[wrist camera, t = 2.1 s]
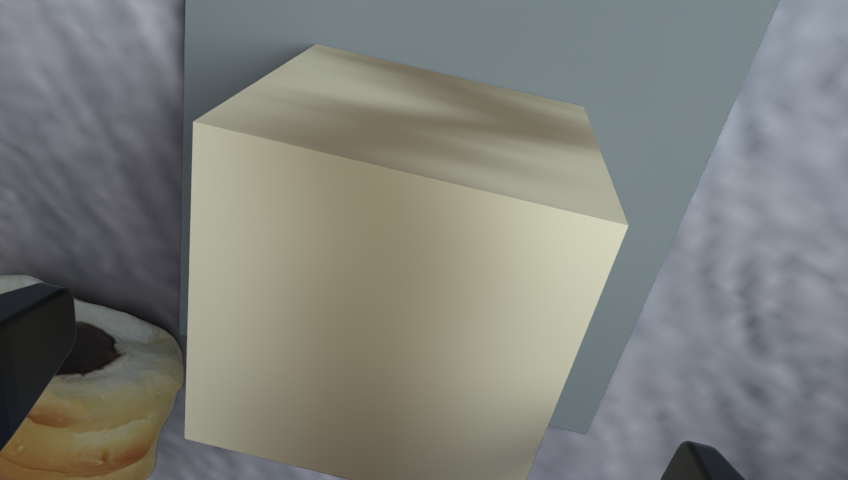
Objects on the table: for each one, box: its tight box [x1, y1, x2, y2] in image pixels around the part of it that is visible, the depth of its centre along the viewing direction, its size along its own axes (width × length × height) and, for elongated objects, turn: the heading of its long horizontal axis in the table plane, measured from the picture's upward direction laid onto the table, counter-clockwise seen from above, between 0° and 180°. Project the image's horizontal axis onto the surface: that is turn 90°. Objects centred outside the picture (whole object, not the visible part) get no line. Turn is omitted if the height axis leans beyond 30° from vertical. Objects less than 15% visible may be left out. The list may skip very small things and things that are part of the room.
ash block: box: [185, 44, 629, 480], centre depth 12 cm, size 6×6×6 cm
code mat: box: [179, 0, 780, 434], centre depth 15 cm, size 12×12×1 cm
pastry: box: [0, 275, 184, 480], centre depth 18 cm, size 9×7×4 cm
